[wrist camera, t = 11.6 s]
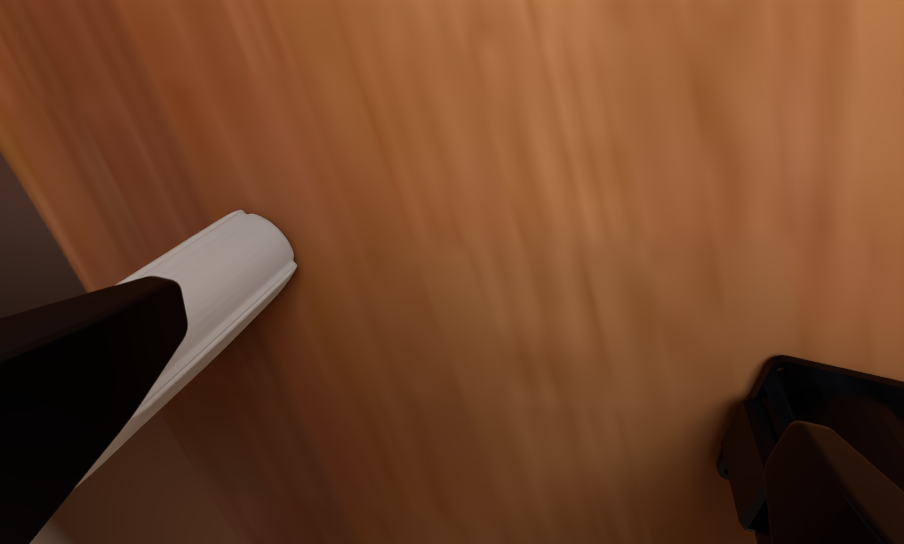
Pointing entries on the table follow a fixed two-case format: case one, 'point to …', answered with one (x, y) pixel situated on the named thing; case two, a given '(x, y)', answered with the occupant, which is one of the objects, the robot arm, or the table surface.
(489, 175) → the table surface
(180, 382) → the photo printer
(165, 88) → the table surface
